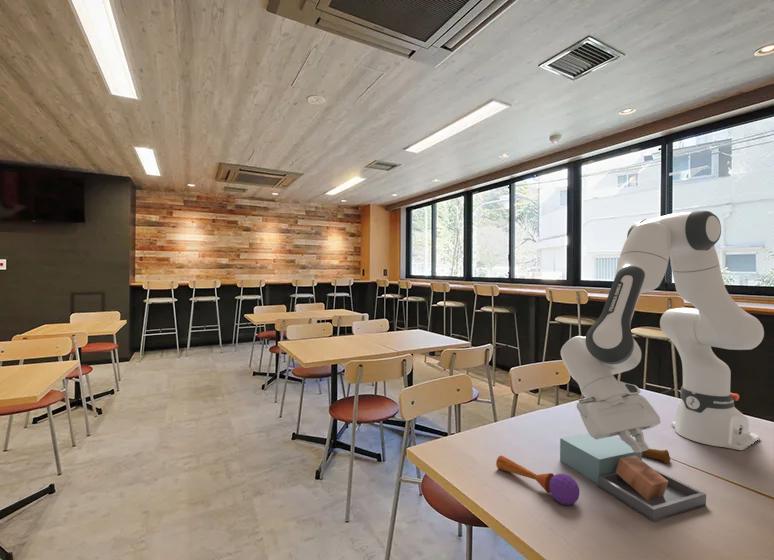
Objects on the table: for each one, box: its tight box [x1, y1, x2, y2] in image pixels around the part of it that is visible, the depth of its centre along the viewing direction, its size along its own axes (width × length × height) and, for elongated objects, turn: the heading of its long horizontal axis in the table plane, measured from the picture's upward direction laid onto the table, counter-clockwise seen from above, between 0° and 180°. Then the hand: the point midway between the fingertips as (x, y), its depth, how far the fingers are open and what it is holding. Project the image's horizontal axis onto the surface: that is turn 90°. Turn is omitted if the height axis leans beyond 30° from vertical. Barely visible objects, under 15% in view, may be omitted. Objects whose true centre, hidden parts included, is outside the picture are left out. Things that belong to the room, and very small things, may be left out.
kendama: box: [495, 455, 580, 506], centre depth 88 cm, size 6×6×20 cm
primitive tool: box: [642, 448, 671, 465], centre depth 106 cm, size 19×6×4 cm, turn 49°
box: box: [597, 466, 707, 522], centre depth 84 cm, size 16×13×2 cm
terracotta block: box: [615, 455, 668, 500], centre depth 85 cm, size 5×4×8 cm
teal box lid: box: [559, 432, 643, 485], centre depth 96 cm, size 14×12×6 cm
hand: (642, 451), depth 86 cm, fingers closed
